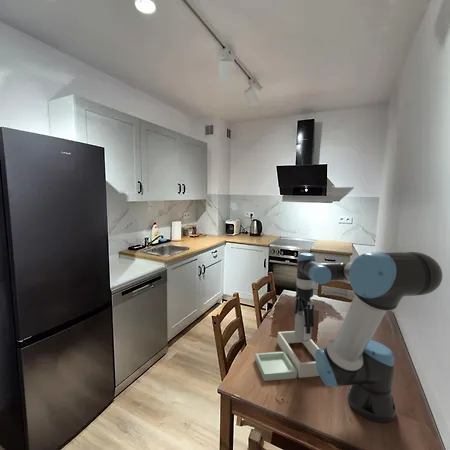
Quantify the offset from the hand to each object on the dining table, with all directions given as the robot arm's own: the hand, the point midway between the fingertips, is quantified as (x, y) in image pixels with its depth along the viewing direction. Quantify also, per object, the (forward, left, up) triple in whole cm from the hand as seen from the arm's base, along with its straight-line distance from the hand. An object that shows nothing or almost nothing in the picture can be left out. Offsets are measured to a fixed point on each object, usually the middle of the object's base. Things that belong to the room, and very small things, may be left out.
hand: (302, 334), depth 121 cm
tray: (-5, +15, -12) cm, 20 cm away
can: (0, 0, -2) cm, 2 cm away
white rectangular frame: (+1, 0, -12) cm, 12 cm away
